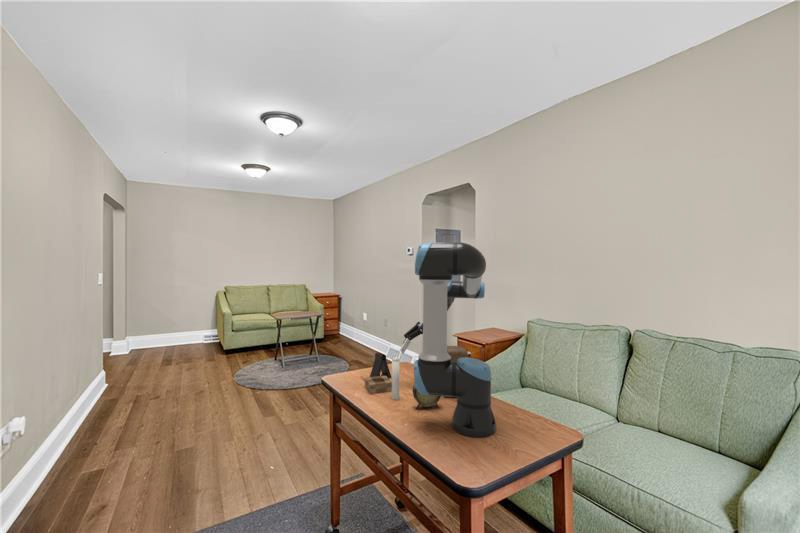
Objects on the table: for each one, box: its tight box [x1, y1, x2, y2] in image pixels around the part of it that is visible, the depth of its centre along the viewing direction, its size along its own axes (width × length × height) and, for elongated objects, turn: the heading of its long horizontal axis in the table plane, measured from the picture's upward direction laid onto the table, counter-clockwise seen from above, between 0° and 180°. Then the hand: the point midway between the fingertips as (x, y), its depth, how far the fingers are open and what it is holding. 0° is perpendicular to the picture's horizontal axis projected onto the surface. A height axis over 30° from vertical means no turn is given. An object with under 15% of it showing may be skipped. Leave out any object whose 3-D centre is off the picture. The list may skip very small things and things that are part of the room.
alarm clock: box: [412, 382, 442, 410], centre depth 143 cm, size 11×5×16 cm, turn 102°
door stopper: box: [369, 352, 392, 379], centre depth 178 cm, size 9×6×12 cm, turn 124°
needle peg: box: [391, 356, 401, 401], centre depth 152 cm, size 3×3×18 cm
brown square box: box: [364, 375, 392, 395], centre depth 163 cm, size 10×10×4 cm
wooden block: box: [444, 345, 469, 398], centre depth 157 cm, size 10×10×20 cm
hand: (412, 354), depth 159 cm, fingers open, 13 cm apart
